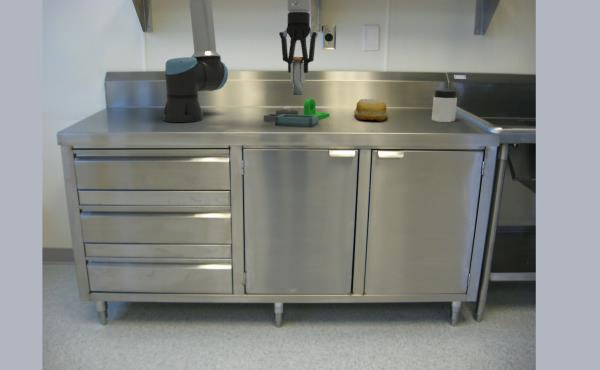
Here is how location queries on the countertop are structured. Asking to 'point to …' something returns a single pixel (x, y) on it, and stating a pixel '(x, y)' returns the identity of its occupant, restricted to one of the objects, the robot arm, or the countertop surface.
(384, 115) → the bread
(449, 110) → the jar
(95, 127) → the countertop surface
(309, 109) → the mechanical part
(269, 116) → the grey metal square frame
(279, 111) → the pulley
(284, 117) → the tray
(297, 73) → the pin
